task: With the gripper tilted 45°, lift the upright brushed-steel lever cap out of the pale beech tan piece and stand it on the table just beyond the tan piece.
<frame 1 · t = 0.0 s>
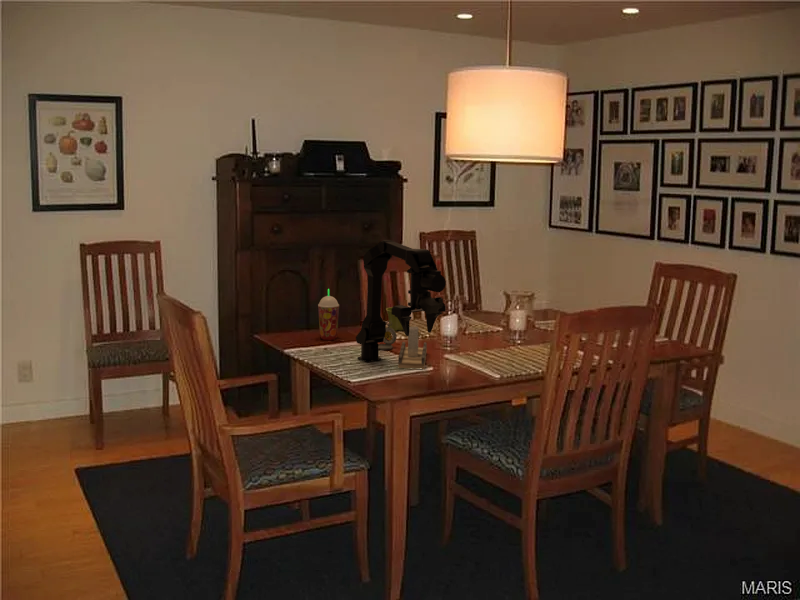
hand: (418, 334, 285), 15 cm above the table, tool pointing down, fingers open, 9 cm apart
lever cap: (412, 355, 309), point 2 cm above the table, touching tan piece
pocket watch: (385, 348, 327), on the table
plant pot: (397, 329, 360), on the table
tan piece: (412, 360, 309), on the table
smoothie: (328, 339, 341), on the table
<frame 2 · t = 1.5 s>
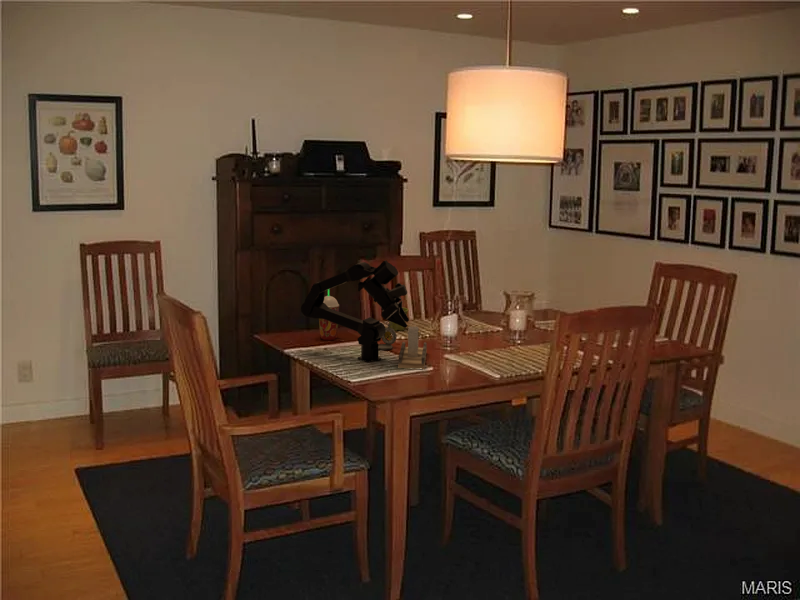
hand: (407, 324, 306), 13 cm above the table, tool tilted 45°, fingers open, 9 cm apart
nothing on the table moved.
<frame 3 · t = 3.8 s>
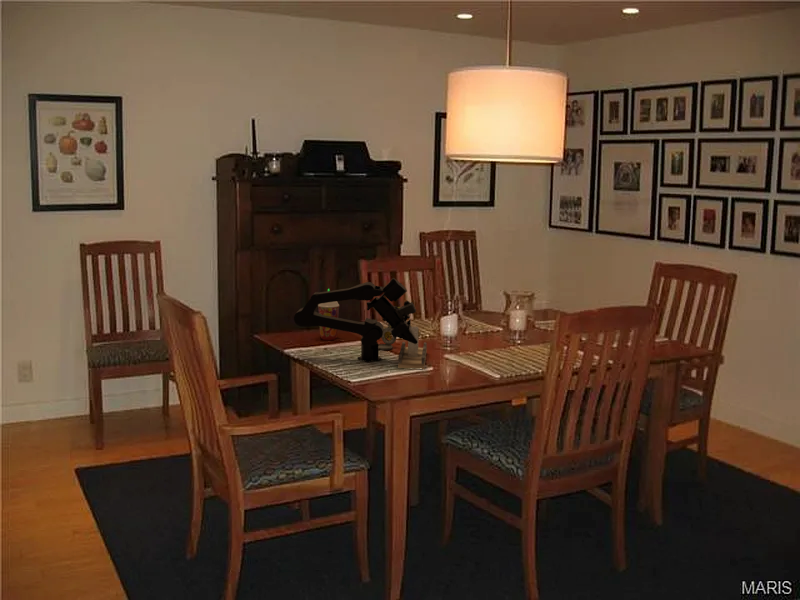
hand: (417, 341, 308), 7 cm above the table, tool tilted 45°, fingers closed on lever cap, 5 cm apart
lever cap: (412, 355, 309), point 2 cm above the table, touching gripper, tan piece
everything else where it was.
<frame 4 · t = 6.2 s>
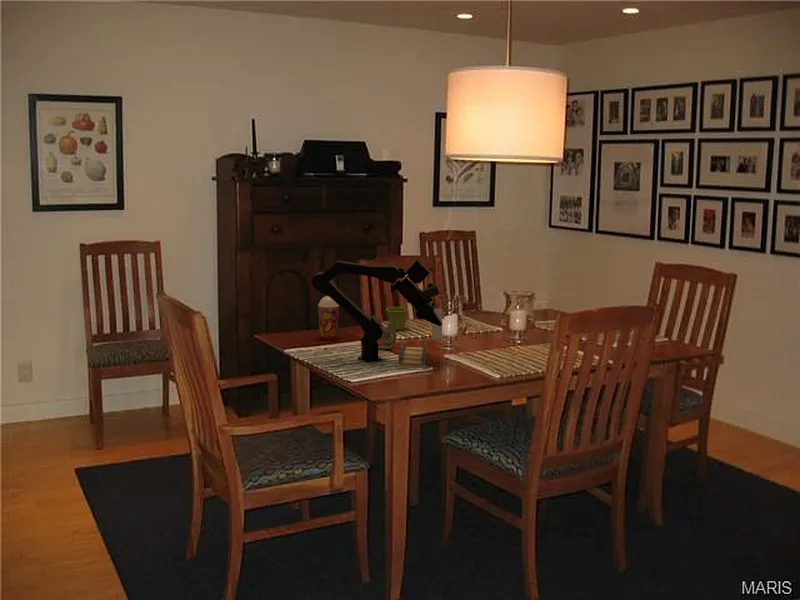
hand: (441, 323, 306), 14 cm above the table, tool tilted 45°, fingers closed on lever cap, 5 cm apart
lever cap: (437, 337, 307), point 9 cm above the table, touching gripper
everything else where it was.
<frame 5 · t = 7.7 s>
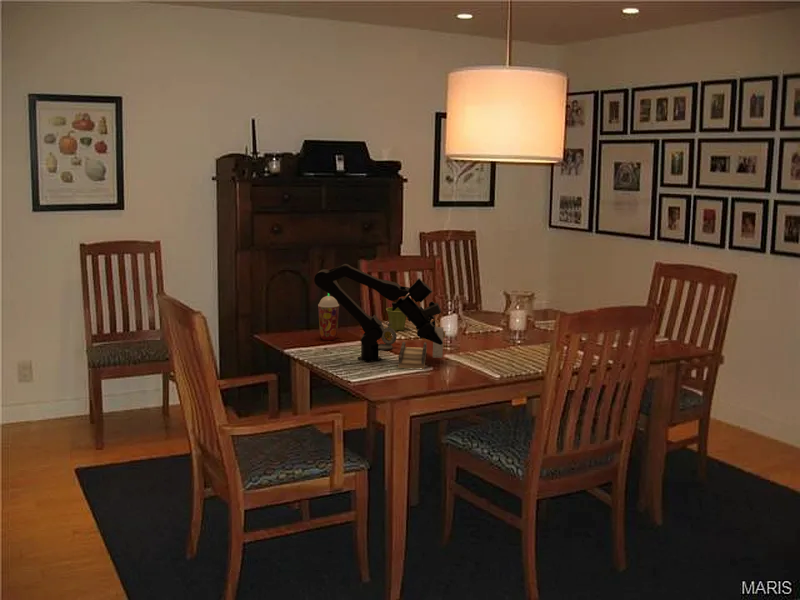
hand: (442, 342, 307), 7 cm above the table, tool tilted 45°, fingers closed on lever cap, 5 cm apart
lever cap: (437, 355, 308), point 2 cm above the table, touching gripper
everything else where it was.
when the fingers open (6 cm above the table, at t = 8.7 s): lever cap drops 1 cm, on the table.
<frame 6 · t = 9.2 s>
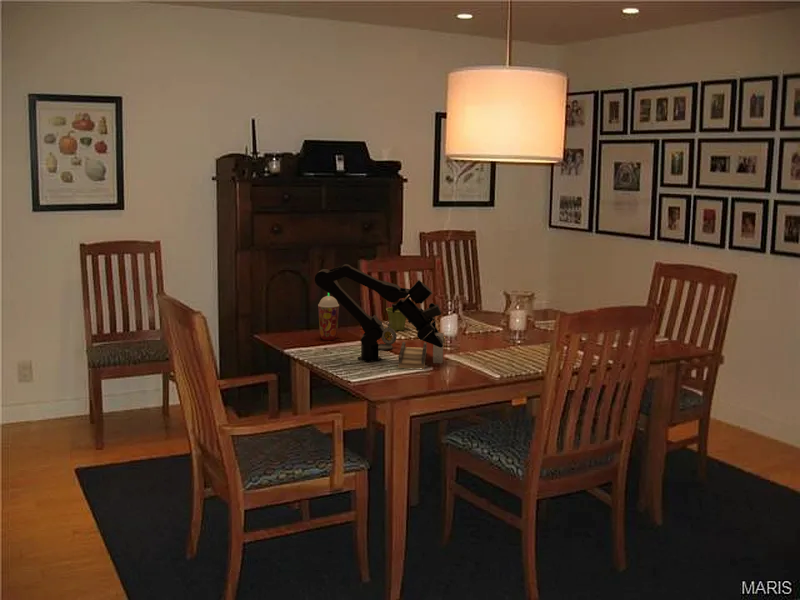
hand: (442, 343, 307), 7 cm above the table, tool tilted 45°, fingers open, 9 cm apart
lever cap: (437, 361, 308), on the table
everything else where it was.
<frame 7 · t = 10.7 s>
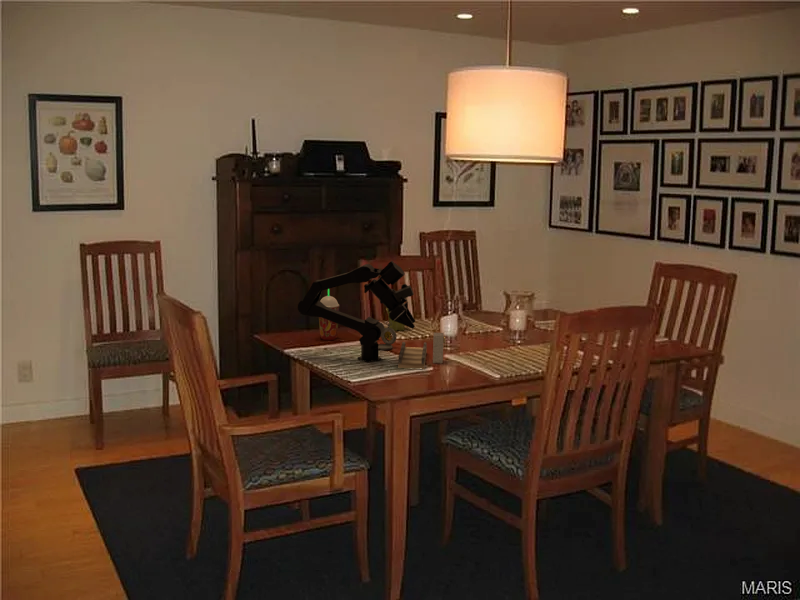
hand: (414, 324, 306), 13 cm above the table, tool tilted 45°, fingers open, 9 cm apart
nothing on the table moved.
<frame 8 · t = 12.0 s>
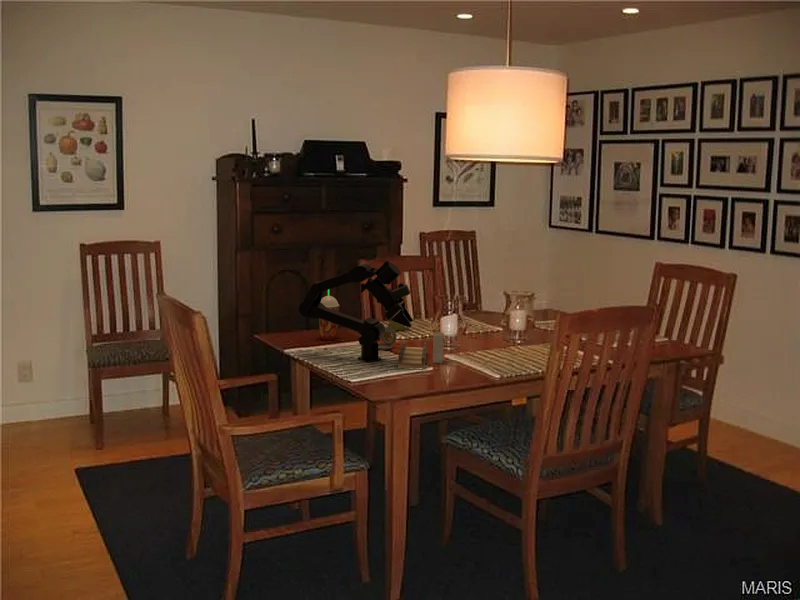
hand: (411, 323, 306), 14 cm above the table, tool tilted 45°, fingers open, 9 cm apart
nothing on the table moved.
at the end: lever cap touching table; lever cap inside the target area (0.2 cm from its centre), on the table; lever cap tilted 0° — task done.
